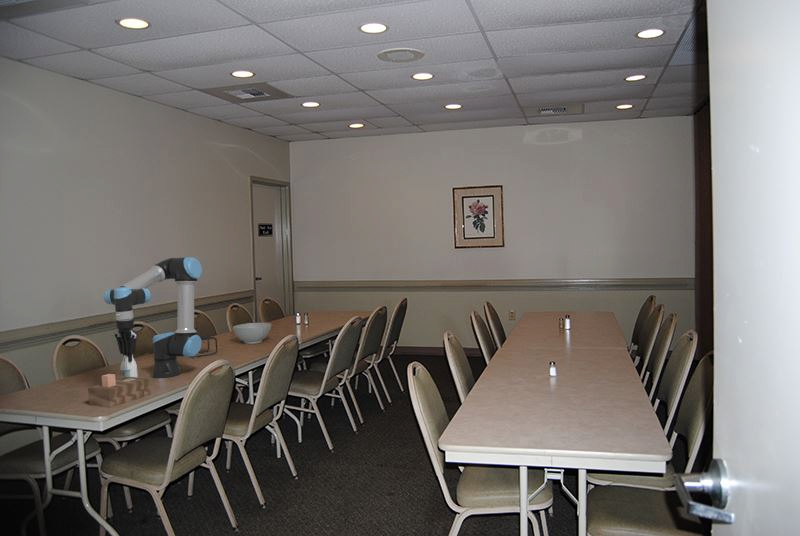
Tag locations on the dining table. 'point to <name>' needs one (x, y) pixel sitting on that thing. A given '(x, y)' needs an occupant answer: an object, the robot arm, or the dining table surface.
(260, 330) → the decorative bowl
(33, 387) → the dining table surface
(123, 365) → the milk bottle
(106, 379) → the clay peg
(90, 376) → the dining table surface
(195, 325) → the dark open wire frame
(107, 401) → the walnut block
